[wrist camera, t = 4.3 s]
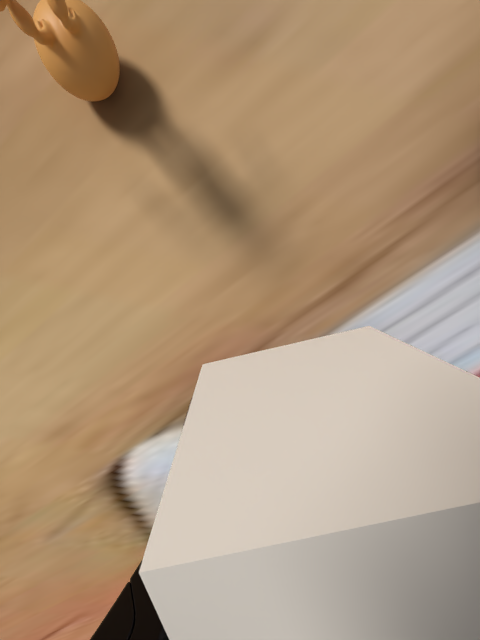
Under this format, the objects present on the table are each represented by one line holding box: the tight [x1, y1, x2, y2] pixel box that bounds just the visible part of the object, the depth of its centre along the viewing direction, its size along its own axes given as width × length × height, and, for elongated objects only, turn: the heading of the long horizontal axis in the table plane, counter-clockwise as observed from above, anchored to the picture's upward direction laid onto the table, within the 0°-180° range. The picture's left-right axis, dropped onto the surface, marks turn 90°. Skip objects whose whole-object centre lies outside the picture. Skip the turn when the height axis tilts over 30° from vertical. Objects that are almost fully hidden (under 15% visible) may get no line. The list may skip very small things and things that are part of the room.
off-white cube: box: [139, 326, 480, 640], centre depth 6 cm, size 6×6×6 cm
